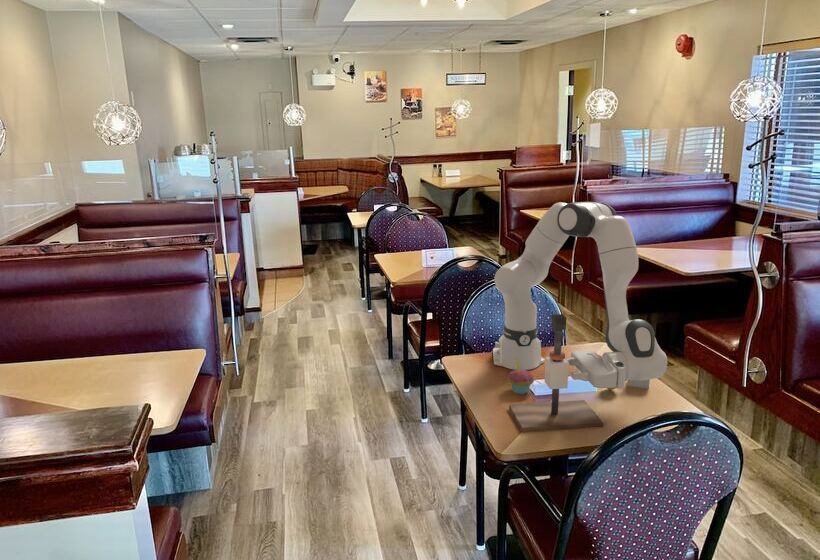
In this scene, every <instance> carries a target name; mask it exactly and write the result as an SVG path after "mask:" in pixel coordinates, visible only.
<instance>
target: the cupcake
mask: <svg viewBox="0 0 820 560" xmlns="http://www.w3.org/2000/svg"><path fill="white" fill-rule="evenodd" d="M516 367H517V369H516V370H514V369H512V370H511V371H510V372H509V373H508V374H507V381H508V383H509V384H510V385H511V388H512V391H513V392H514V393H515V394H519V395H523V394H524V395H525V394H527V393H528V392H529V389H530V386H531V385H532V384H533V383H535V378H534V375H533V373H532V372H530V371H529V370H523V369H519V366H518V360H517V358H516Z"/></svg>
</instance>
